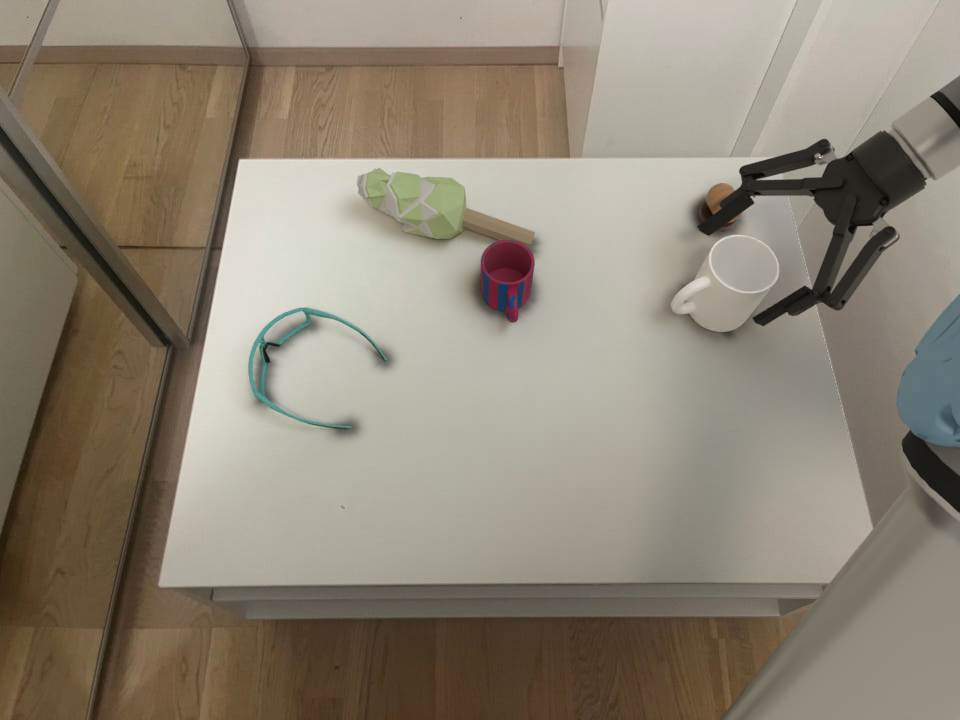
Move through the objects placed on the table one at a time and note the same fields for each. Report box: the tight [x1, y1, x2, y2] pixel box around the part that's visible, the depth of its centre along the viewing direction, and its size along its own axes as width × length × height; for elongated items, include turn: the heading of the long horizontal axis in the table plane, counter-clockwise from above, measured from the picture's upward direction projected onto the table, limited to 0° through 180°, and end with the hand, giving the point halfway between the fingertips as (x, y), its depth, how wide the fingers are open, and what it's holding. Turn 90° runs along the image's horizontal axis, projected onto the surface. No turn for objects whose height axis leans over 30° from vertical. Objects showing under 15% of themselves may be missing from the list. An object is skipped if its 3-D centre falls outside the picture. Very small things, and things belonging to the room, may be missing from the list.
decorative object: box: [356, 167, 536, 249], centre depth 90 cm, size 9×10×25 cm
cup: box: [480, 240, 536, 323], centre depth 85 cm, size 7×10×7 cm
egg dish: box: [698, 182, 743, 232], centre depth 92 cm, size 6×5×5 cm
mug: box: [670, 234, 780, 333], centre depth 83 cm, size 12×8×10 cm
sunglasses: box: [247, 307, 388, 430], centre depth 82 cm, size 14×15×5 cm
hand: (729, 275), depth 80 cm, fingers open, 13 cm apart
